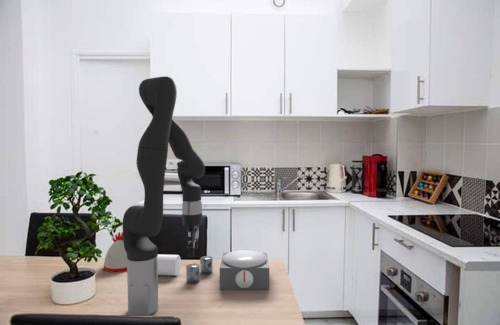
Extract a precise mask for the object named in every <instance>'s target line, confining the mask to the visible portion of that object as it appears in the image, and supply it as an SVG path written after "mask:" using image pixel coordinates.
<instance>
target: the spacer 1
mask: <svg viewBox="0 0 500 325" xmlns="http://www.w3.org/2000/svg"><path fill="white" fill-rule="evenodd" d="M185 267H186V274H185V275H186V284H189V285H195V284H198V283H200V280H201V279H200V275H201V273H200V264H198V263H190V264H187V265H186V266H185Z"/></svg>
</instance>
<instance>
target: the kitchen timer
mask: <svg viewBox="0 0 500 325" xmlns="http://www.w3.org/2000/svg"><path fill="white" fill-rule="evenodd" d="M112 241H113V243H112V244H111V245H110V247H109V248H108V249H107V252H106V255H105V257H104V261H103V270H104V271H105V272H108V273H124V272H127V253H126V251H125V249H124V241H123V231H122V232H120V231H119V232H118V233H117V234H115V235H114V238H113V239H112Z"/></svg>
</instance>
